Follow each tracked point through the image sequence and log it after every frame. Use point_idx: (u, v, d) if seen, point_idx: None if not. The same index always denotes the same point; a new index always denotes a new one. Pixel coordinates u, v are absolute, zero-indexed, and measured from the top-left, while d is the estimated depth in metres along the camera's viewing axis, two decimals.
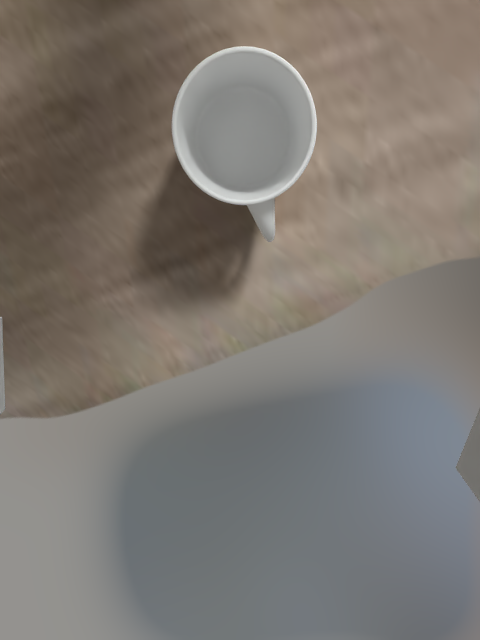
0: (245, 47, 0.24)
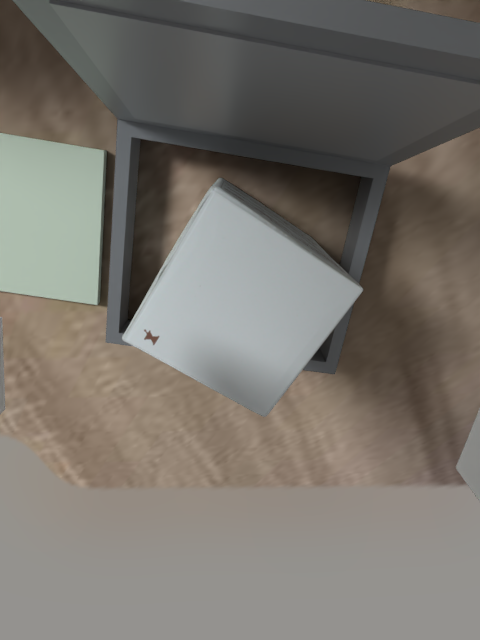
0: None
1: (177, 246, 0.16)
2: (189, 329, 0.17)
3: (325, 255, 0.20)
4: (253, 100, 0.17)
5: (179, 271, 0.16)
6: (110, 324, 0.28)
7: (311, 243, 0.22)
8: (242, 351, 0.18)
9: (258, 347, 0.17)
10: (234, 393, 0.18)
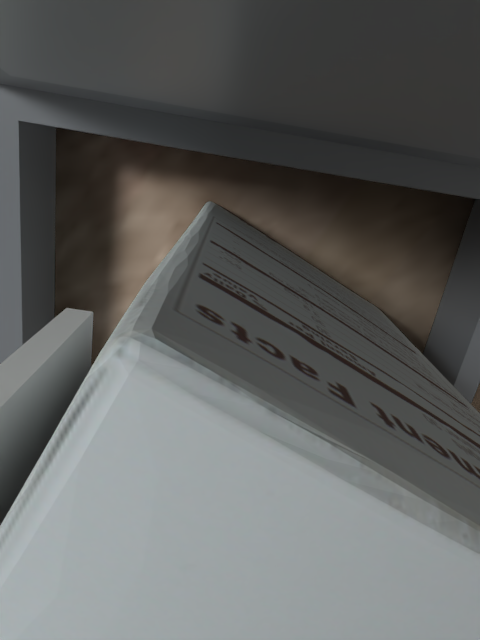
0: None
1: None
2: None
3: None
4: None
5: None
6: None
7: (422, 369, 0.09)
8: None
9: None
10: None
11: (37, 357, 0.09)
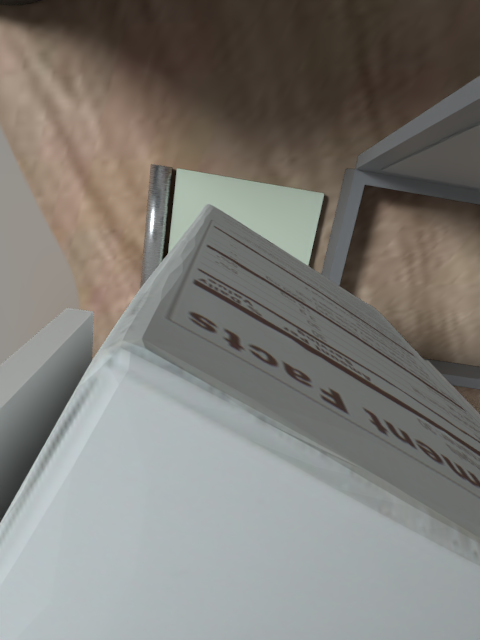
0: None
1: None
2: None
3: None
4: None
5: None
6: None
7: (419, 372, 0.09)
8: None
9: None
10: None
11: (38, 357, 0.09)
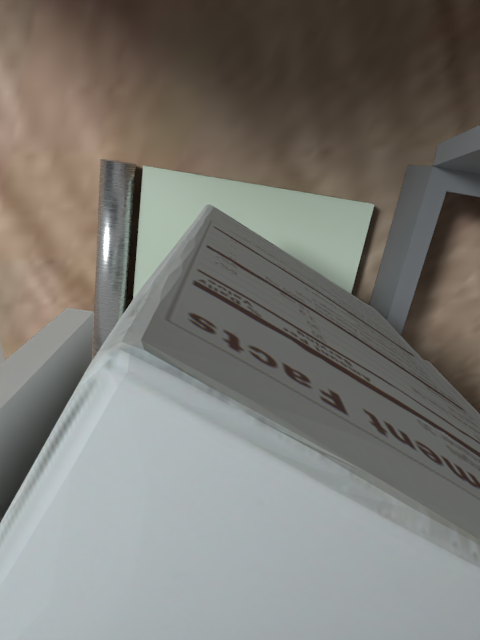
0: None
1: None
2: None
3: None
4: None
5: None
6: None
7: (419, 373, 0.09)
8: None
9: None
10: None
11: (38, 357, 0.09)
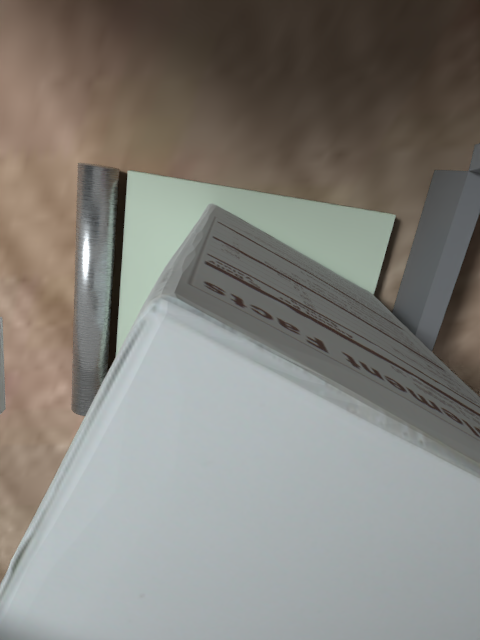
0: None
1: (55, 486, 0.05)
2: None
3: (455, 384, 0.09)
4: None
5: (69, 557, 0.05)
6: None
7: (404, 340, 0.10)
8: None
9: None
10: None
11: None
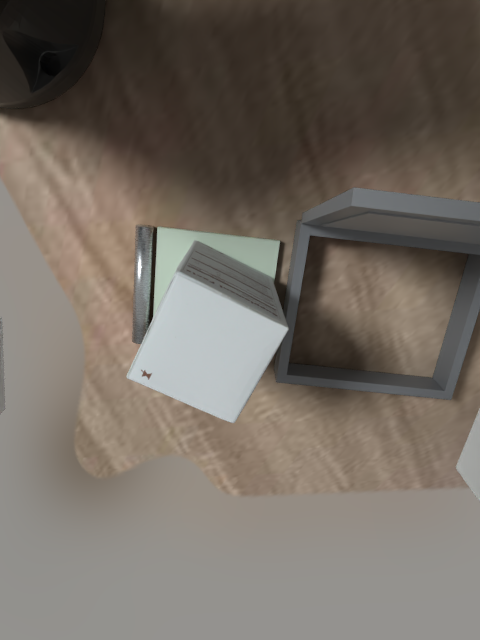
0: None
1: (157, 312, 0.24)
2: (172, 366, 0.25)
3: (269, 301, 0.28)
4: (438, 231, 0.25)
5: (160, 328, 0.24)
6: (281, 368, 0.37)
7: (262, 290, 0.29)
8: (210, 379, 0.25)
9: (221, 375, 0.25)
10: (209, 408, 0.26)
11: None
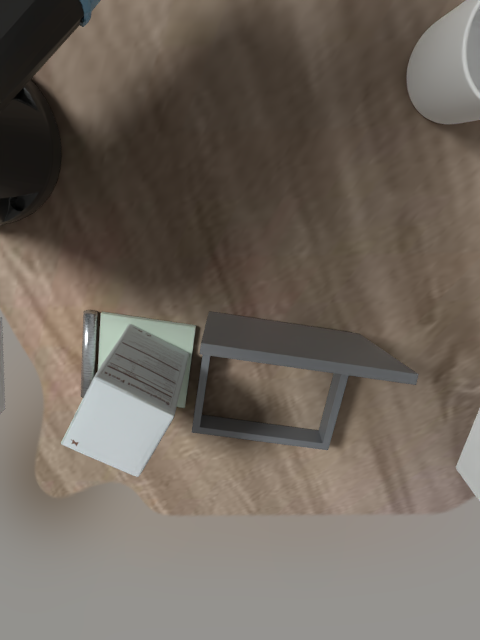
0: (464, 38, 0.28)
1: (82, 402, 0.34)
2: (92, 438, 0.35)
3: (170, 387, 0.38)
4: None
5: (84, 413, 0.34)
6: (195, 422, 0.47)
7: (169, 375, 0.40)
8: (120, 447, 0.35)
9: (127, 445, 0.35)
10: (119, 466, 0.36)
11: None
